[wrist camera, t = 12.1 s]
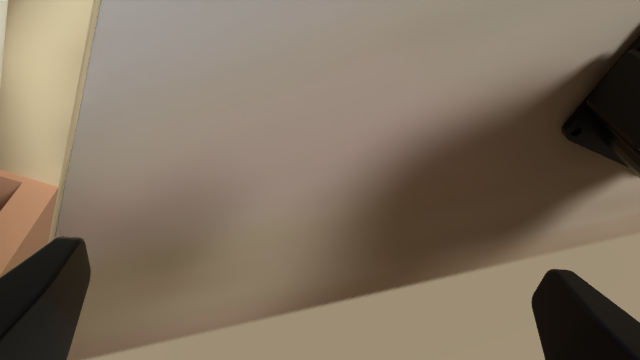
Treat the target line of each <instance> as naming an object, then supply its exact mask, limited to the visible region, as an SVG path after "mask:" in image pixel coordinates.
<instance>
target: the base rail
mask: <svg viewBox="0 0 640 360" xmlns="http://www.w3.org/2000/svg"><path fill="white" fill-rule="evenodd" d="M100 2H101V0H8V7H7V18H6V30H5V41H4V52H3V64H2V75H1V87H0V170H3V171H6V172H9V173H13V174H16V175H20V176H23V177H26V178H30V179H33V180H37V181H40V182H43V183H47V184H50V185H54V186H57V187H59V188H58V193H57V198H56V204H55V209H54V214H53V220H52V225H51V230H50V236H49V241H48V243H49V242H51V241H52V240H53V239H54V237H55V232H56V227H57V222H58V217H59V212H60V207H61V202H62V197H63V191H64V186H65V181H66V176H67V171H68V166H69V161H70V156H71V151H72V145H73V140H74V135H75V130H76V125H77V120H78V115H79V110H80V105H81V99H82V94H83V89H84V84H85V79H86V74H87V69H88V64H89V59H90V53H91V48H92V43H93V38H94V33H95V28H96V23H97V18H98V12H99V7H100Z"/></svg>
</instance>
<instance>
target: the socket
mask: <svg viewBox="0 0 640 360" xmlns="http://www.w3.org/2000/svg"><path fill="white" fill-rule="evenodd" d="M58 188H59V187H57V186H54V185H50V184H47V183H43V182H40V181H37V180H33V179H30V178H26V177H23V176H20V175H16V174H13V173H9V172H6V171H3V170H0V277H1V276H3V275H4V274H6V273H7V272H8V271H10V270H11V269H13V268H14V267H15V266H17V265H18V264H20V263H21V262H23V261H24V260H25V259H27V258H28V257H30V256H31V255H32V254H34V253H35V252H37V251H38V250H39V249H41V248H42V247H44V246H45V245H46V244H48V241H49V236H50V230H51V225H52V220H53V214H54V209H55V204H56V198H57V193H58Z"/></svg>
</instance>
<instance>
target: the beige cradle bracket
mask: <svg viewBox="0 0 640 360" xmlns="http://www.w3.org/2000/svg"><path fill="white" fill-rule="evenodd" d="M7 7H8V0H0V87H1V75H2V64H3V52H4V41H5V30H6V18H7Z"/></svg>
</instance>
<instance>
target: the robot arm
mask: <svg viewBox="0 0 640 360" xmlns="http://www.w3.org/2000/svg"><path fill="white" fill-rule="evenodd" d="M576 127H577V129H576V130H575V131H574V132H571V131H572V130H573V129H574V128H576ZM562 134H563V135H564V136H565V137H566V138H567V139H568V140H570V141H572V142H574V143H576V144H578V145H581V146H583V147H585V148H587V149H590V150H592V151H594V152H596V153H598V154H601V155H603V156H605V157H607V158H609V159H612V160H614V161H616V162H618V163H621V164H623V165H625V166H627V167H629V168H630V169H631V170H632V171H633V172H634V173H635V174H636V175H637V176H638V177H639V178H640V36H639V37H638V39H637V40H636V41H635V42H634V43H633V44H632V46H631V47H630V48H629V49H628V50H627V51H626V53H625V54H624V55H623V56H622V57H621V58H620V60H619V61H618V62H617V63H616V64H615V65H614V67H613V68H612V69H611V70H610V71H609V72H608V74H607V75H606V76H605V77H604V78H603V79H602V81H601V82H600V83H599V84H598V85H597V86H596V88H595V89H594V90H593V91H592V92H591V93H590V95H589V96H588V97H587V98H586V99H585V100H584V102H583V103H582V104H581V105H580V106H579V107H578V109H577V110H576V111H575V112H574V113H573V114H572V116H571V117H570V118H569V119H568V120H567V121H566V123H565V124H564V125H563V127H562ZM90 274H91V270H90V264H89V260H88V255H87V250H86V245H85V242H84V240H83V239H82V238H79V237H63V236H61V237H57V238H55V239H54V240H52V241H51V242H49V243H48V244H46V245H45V246H44V247H42V248H41V249H39V250H38V251H37V252H35V253H34V254H32V255H31V256H30V257H28V258H27V259H25V260H24V261H23V262H21V263H20V264H18V265H17V266H15V267H14V268H13V269H11V270H10V271H8V272H7V273H6V274H4V275H3V276H1V277H0V360H66V359H67V356H68V353H69V350H70V347H71V343H72V340H73V336H74V333H75V329H76V326H77V323H78V319H79V316H80V312H81V309H82V305H83V302H84V299H85V295H86V292H87V288H88V285H89V281H90ZM532 309H533V313H534V317H535V321H536V324H537V329H538V333H539V336H540V340H541V344H542V348H543V352H544V356H545V360H640V323H639V322H638V321H637V320H635V319H634V318H633V317H632V316H630V315H629V314H628V313H626V312H625V311H624V310H622V309H621V308H620V307H618V306H617V305H616V304H614V303H613V302H612V301H610V300H609V299H608V298H607V297H605V296H604V295H602V294H601V293H600V292H599V291H597V290H596V289H595V288H593V287H592V286H591V285H589V284H588V283H587V282H586V281H584V280H583V279H582V278H580V277H579V276H578V275H576V274H575V273H574V272H572V271H568V270H559V269H551V270H549V271H548V272H547V273H546V274H545V276H544V277H543V279H542V281H541V282H540V284H539V286H538V287H537V289H536V291H535V292H534V294H533V297H532Z"/></svg>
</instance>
